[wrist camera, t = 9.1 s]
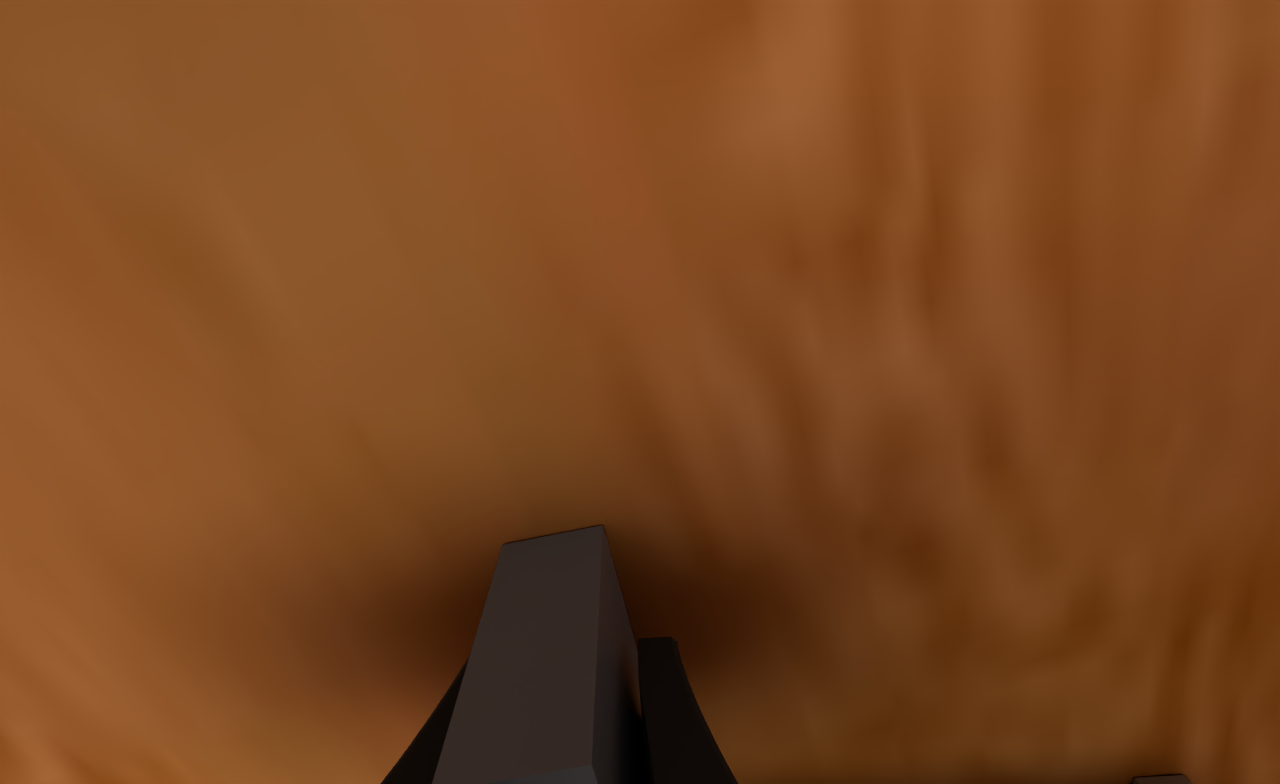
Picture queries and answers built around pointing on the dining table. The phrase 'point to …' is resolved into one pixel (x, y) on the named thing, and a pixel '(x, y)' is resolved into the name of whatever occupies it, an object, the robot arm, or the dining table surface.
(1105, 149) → the dining table surface
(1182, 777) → the shelf
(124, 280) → the dining table surface
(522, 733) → the scraper
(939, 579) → the dining table surface
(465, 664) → the robot arm
